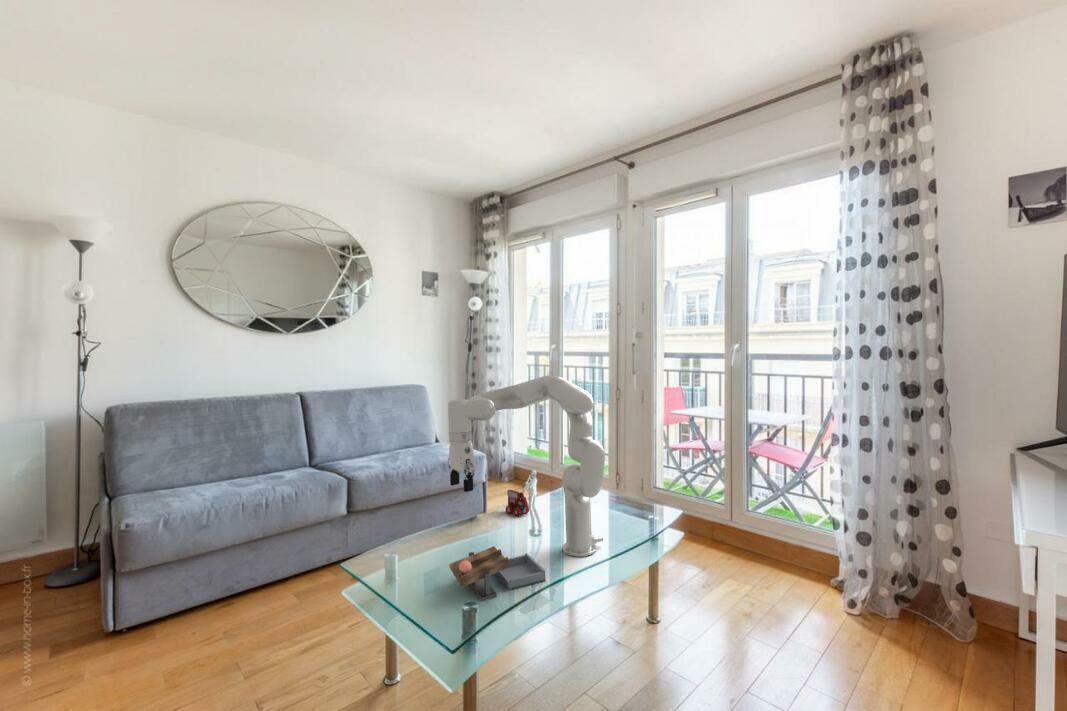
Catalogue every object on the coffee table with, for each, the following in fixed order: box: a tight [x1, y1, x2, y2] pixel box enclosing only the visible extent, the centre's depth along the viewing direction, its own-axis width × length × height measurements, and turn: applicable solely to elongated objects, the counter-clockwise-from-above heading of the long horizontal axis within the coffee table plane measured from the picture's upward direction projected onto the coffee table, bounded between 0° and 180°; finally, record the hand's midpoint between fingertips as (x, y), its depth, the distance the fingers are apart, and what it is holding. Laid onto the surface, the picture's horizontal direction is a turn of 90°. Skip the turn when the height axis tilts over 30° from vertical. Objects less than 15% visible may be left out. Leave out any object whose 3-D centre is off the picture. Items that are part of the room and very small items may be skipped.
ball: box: [459, 561, 472, 575], centre depth 147 cm, size 4×4×4 cm
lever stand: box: [468, 551, 498, 602], centre depth 152 cm, size 5×19×8 cm, turn 24°
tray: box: [494, 552, 547, 591], centre depth 157 cm, size 13×15×4 cm
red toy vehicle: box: [505, 489, 530, 518], centre depth 218 cm, size 7×12×10 cm, turn 47°
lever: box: [448, 546, 510, 588], centre depth 152 cm, size 16×15×4 cm
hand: (461, 487), depth 157 cm, fingers open, 9 cm apart
